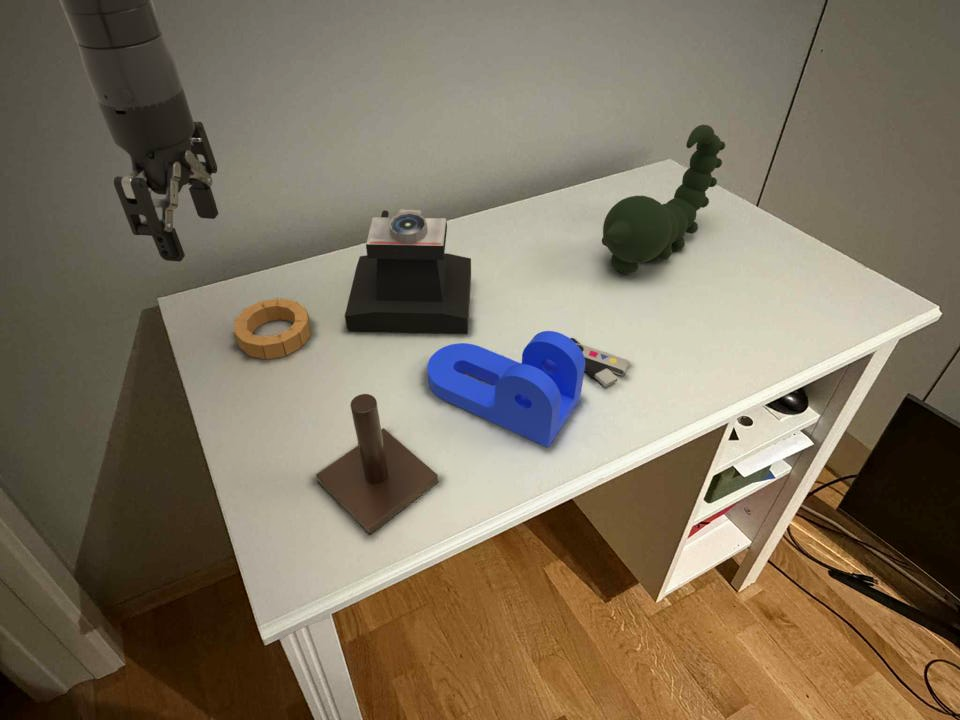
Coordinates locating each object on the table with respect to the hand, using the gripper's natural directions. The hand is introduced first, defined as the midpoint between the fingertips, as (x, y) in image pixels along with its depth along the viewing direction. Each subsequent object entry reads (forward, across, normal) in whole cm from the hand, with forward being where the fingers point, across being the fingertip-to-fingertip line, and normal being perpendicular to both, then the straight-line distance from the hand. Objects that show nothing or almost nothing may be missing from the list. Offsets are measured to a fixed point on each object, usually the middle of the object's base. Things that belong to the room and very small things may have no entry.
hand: (192, 237), depth 70 cm
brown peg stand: (+17, +18, +23) cm, 34 cm away
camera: (+17, -13, +21) cm, 30 cm away
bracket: (+17, +4, +34) cm, 39 cm away
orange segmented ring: (+17, -3, +4) cm, 18 cm away
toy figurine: (+17, -29, +55) cm, 64 cm away
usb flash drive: (+17, -3, +46) cm, 50 cm away
